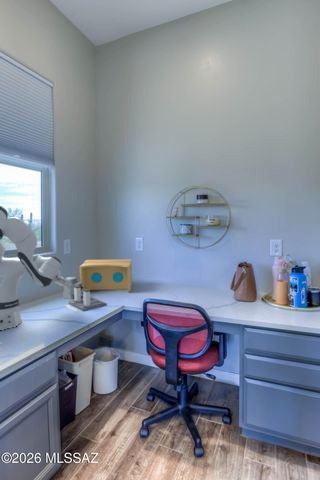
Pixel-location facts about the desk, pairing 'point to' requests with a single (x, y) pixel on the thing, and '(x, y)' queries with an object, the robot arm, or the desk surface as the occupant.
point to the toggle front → (86, 297)
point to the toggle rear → (77, 293)
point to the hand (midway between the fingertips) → (69, 287)
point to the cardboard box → (106, 274)
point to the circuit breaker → (70, 292)
